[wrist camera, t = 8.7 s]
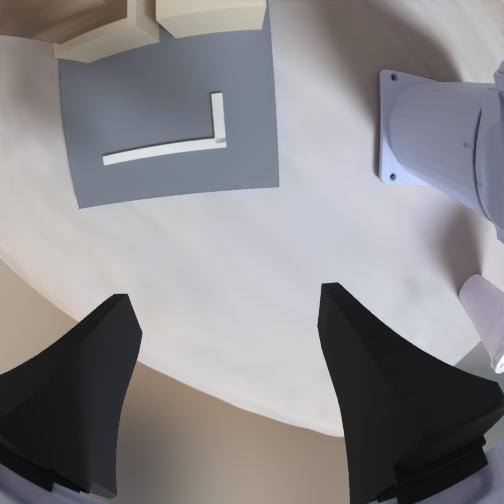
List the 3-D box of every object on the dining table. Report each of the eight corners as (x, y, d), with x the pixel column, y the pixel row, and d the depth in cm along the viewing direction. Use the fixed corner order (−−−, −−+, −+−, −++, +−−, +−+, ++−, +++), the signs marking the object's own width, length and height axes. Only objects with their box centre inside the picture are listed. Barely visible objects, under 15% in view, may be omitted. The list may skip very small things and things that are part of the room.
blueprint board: (262, -36, 10) (267, -74, 6) (277, 183, 18) (288, 208, 13) (68, 9, 10) (29, -5, 6) (85, 204, 18) (48, 232, 14)
